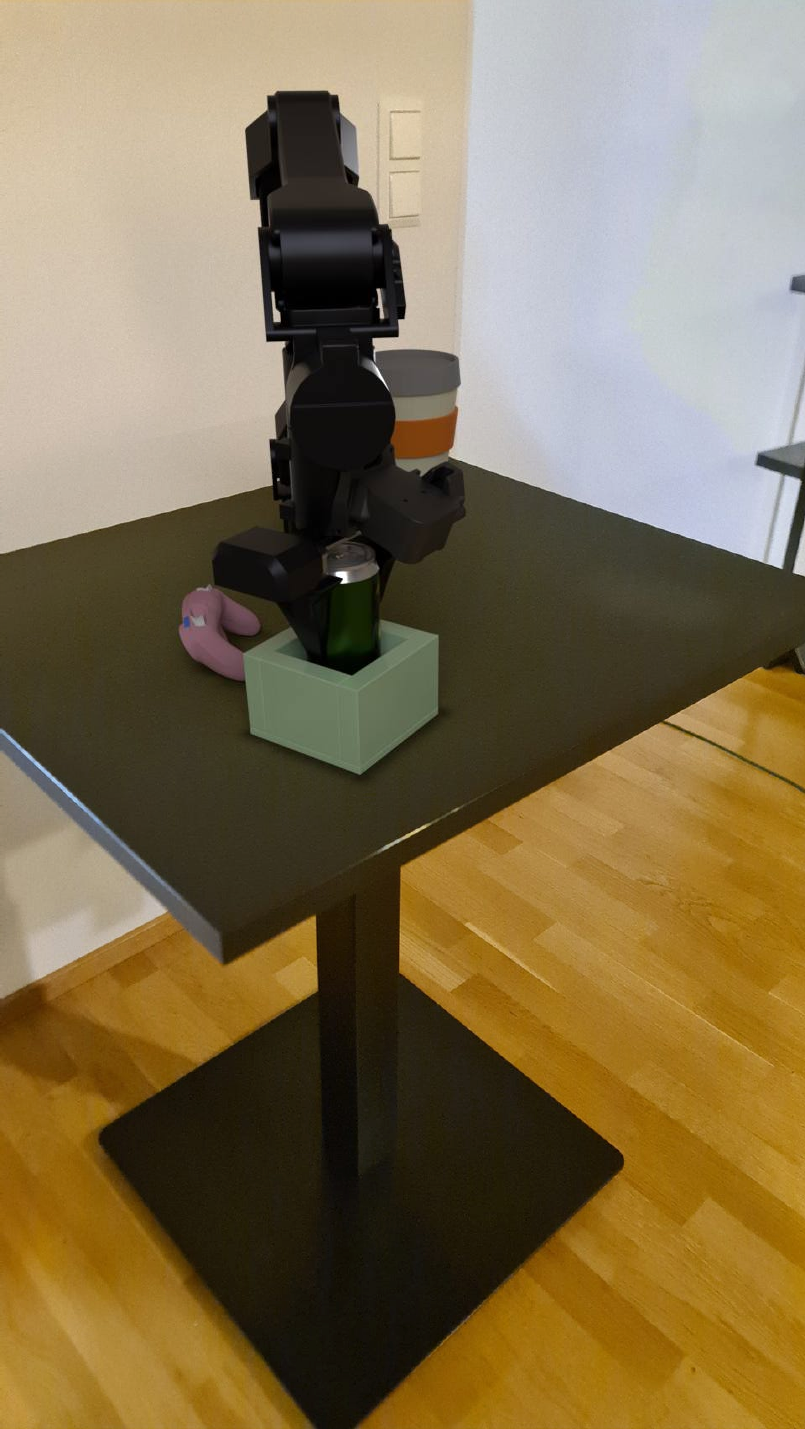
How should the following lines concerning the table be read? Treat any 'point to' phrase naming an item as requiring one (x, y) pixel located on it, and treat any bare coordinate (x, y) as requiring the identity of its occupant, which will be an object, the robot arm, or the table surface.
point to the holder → (343, 697)
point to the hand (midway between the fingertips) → (342, 644)
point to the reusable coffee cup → (421, 404)
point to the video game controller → (215, 630)
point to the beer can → (352, 609)
